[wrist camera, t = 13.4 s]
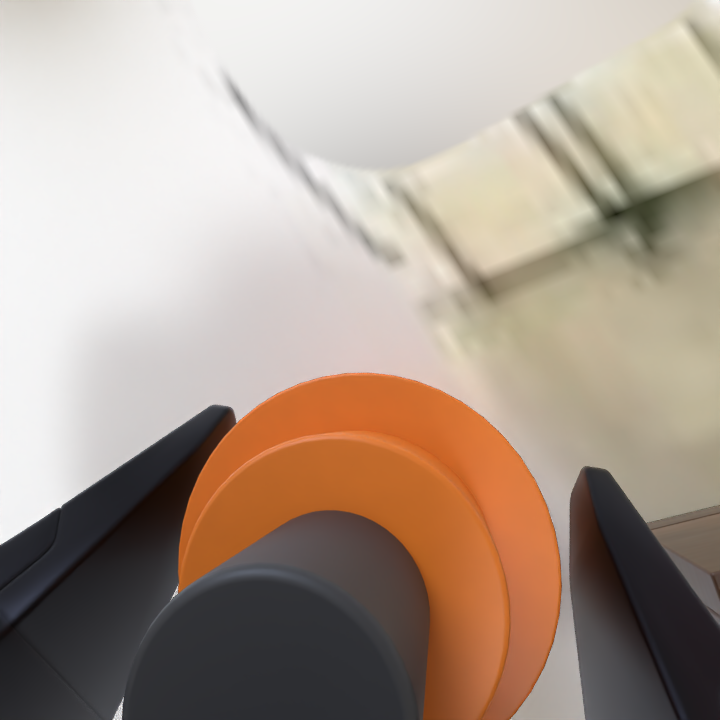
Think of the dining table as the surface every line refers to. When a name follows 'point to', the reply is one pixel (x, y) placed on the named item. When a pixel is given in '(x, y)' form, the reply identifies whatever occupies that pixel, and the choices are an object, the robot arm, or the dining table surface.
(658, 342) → the dining table surface
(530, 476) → the orange bottle
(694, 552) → the crate
